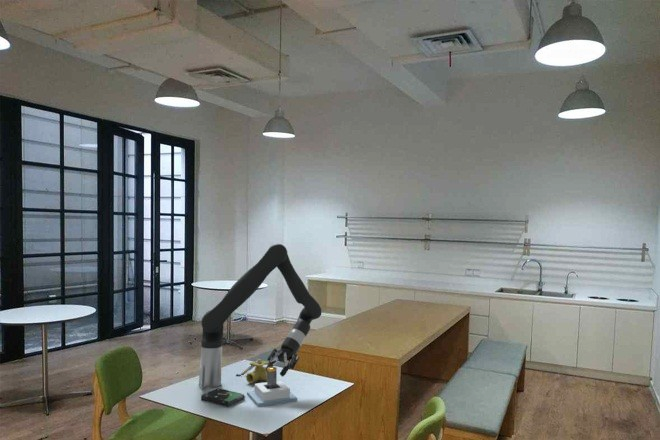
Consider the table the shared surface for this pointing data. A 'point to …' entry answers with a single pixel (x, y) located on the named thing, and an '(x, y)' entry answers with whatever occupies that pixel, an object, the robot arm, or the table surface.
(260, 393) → the socket mount
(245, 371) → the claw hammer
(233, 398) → the disk drive
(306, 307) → the robot arm
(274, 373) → the gold topped tube
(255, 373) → the ball valve
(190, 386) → the table surface
